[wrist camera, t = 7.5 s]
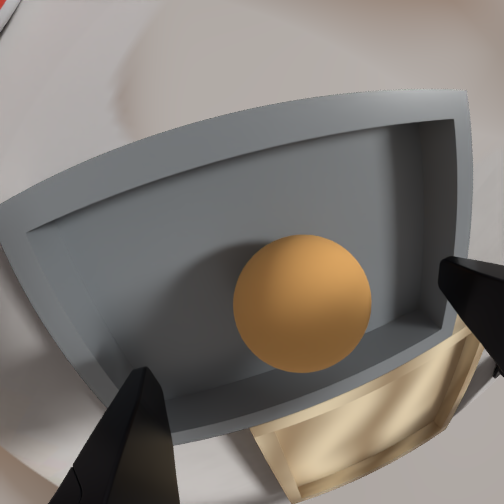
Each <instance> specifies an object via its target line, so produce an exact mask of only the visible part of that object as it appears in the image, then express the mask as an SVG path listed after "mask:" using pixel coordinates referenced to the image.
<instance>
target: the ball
mask: <svg viewBox="0 0 504 504" xmlns="http://www.w3.org/2000/svg"><path fill="white" fill-rule="evenodd" d="M371 302H372V300H371V291H370V286H369V282H368V280H367V277H366V275H365V273H364V270H363V269H362V267H361V266H360V264H359V263H358V261H357V260H356V259H355V258H354V257H353V256H352V254H350V253H349V252H348V251H347V250H346V249H345V248H343V247H342V246H340V245H339V244H337V243H335V242H333V241H331V240H329V239H326V238H323V237H320V236H315V235H291V236H287V237H283V238H280V239H278V240H275V241H273V242H271V243H269V244H267V245H266V246H264V247H263V248H261V249H260V250H259V251H258V252H257V253H255V254H254V255H253V257H252V258H251V259H250V260H249V261H248V262H247V264H246V265H245V267H244V268H243V270H242V272H241V273H240V275H239V278H238V281H237V283H236V287H235V291H234V298H233V312H234V318H235V322H236V326H237V329H238V331H239V333H240V335H241V338H242V339H243V341H244V342H245V344H246V345H247V347H248V348H249V349H250V350H251V351H252V352H253V353H254V354H255V355H256V356H257V357H258V358H259V359H261V360H262V361H263V362H265V363H267V364H268V365H270V366H272V367H274V368H277V369H280V370H284V371H287V372H294V373H309V372H315V371H319V370H323V369H326V368H328V367H331V366H333V365H335V364H336V363H338V362H340V361H341V360H343V359H344V358H345V357H346V356H348V355H349V354H350V353H351V352H352V351H353V350H354V348H355V347H356V346H357V345H358V343H359V342H360V340H361V339H362V337H363V335H364V333H365V331H366V329H367V326H368V323H369V319H370V315H371Z"/></svg>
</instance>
